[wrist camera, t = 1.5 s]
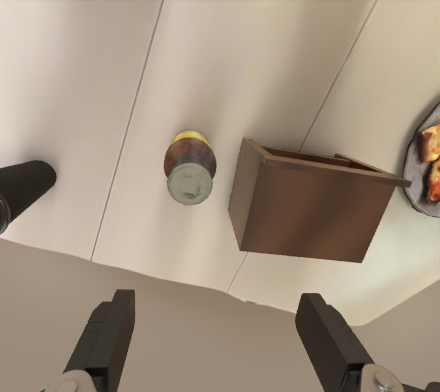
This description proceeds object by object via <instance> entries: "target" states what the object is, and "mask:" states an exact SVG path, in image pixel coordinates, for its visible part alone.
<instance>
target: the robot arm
mask: <svg viewBox="0 0 440 392" xmlns="http://www.w3.org/2000/svg"><path fill="white" fill-rule="evenodd" d="M134 323H135V291H134V290H123V289H117V290H116V292H115V295H114V297H113V300H112V302H102V303H101V304H100V305H99V306H98V307H97V308H96V309H95V310H94V311H93V312H92V314H91V316H90V318H89V321H88V324H87V325H86V327H85V329H84V332H83V333H82V335H81V337H80V339H79V341H78V343H77V345H76V348H75V350H74V352H73V354H72V356H71V358H70V360H69V362H68V364H67V366H66V368H65V370H64V372H63V373H62V375H60V376H58V377H57V378H56V379H54V380H53V381H52V382H51V383H50V384H49V385H48V387H47V388H46V389H45V390H43V391H41V392H117V389H118V386H119V382H120V378H121V374H122V371H123V367H124V363H125V359H126V356H127V352H128V348H129V344H130V341H131V337H132V333H133V329H134ZM295 323H296V328H297V331H298V334H299V336H300V338H301V340H302V343H303V345H304V347H305V349H306V351H307V354H308V356H309V358H310V360H311V362H312V365H313V367H314V369H315V371H316V374H317V376H318V378H319V380H320V383H321V385H322V387H323V389H324V391H325V392H440V383H439V382H431V383H429V384H428V385H427V387H426V389H425V390H422V389H418V388H415V387H412V386H409V385H405V384H402V383H401V382H400V381H399V380H398V379H397V377H396V376H394V374H392V373H391V372H390V371H388V370H387V369H386V368H384V367H382V366H379V365H377V364H375V363H374V361H373V360H372V358H371V357H370V356H369V354H368V353H367V351H366V350H365V348H364V347H363V345H362V344H361V343H360V341H359V340H358V338H357V337H356V335H355V334H354V333H353V332H352V330H351V328H350V327H349V325H347V322H346V321H345V319H344V318H343V317H342V315H341V314H340V313H339V312H338V311H337V310H336V309H335V308H334V307H332V306H331V305H327V304H326V302H325V301H324V299H323V298H322V296H321V295H320V294H318V293H303V294H302V295H301V299H300V302H299V306H298V310H297V314H296V318H295Z"/></svg>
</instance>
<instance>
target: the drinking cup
mask: <svg viewBox="0 0 440 392" xmlns="http://www.w3.org/2000/svg"><path fill="white" fill-rule="evenodd" d="M55 182H56V173H55V171H54V169H53V168H52V167H51V166H50V165H49V164H47V163H45V162H43V161H38V160H35V161H30V162H26V163H21V164H17V165H13V166H8V167H4V168H0V234H2V233H3V232H4V231H5V230H6V229H7V227H8V225H9V224H10V223H11V222H12V221H13V220H14V219H15V218H17V217H18V216H19V215H20V214H21V213H22V212H24V211H25V210H26V209H27V208H28V207H29V206H31V205H32V204H33V203H34V202H35V201H36V200H37V199H39V198H40V197H41V196H42V195H43V194H44V193H46V192H47V191H48V190H49V189H50V188H51V187H52V186H54V184H55Z"/></svg>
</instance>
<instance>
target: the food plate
mask: <svg viewBox="0 0 440 392" xmlns="http://www.w3.org/2000/svg"><path fill="white" fill-rule="evenodd" d="M402 178H404V179H406V180H409V181H411V182H412V184H411V187H410V188H406V187H403V191H404V193H405V195H406V197H407V198H408V199H409V200H410V202H411V204H412V207H413V208H414V209H415V210H416V211H418V212H423V213H424V214H426V215H428V216H432V217H439V218H440V102H439V103H438V104H437V105H436V106H435V107H434V109H433V110H432V112H430V114H429V115H428V116H427V117H426V118H425V120H424V121H423V122H422V124H420V125H419V127H418V128H417V130H416V131H415V134H414V136H413V139H412V140H411V141H410V143H409V145H408V147H407V152H406V157H405V161H404V168H403V175H402Z"/></svg>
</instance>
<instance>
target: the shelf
mask: <svg viewBox="0 0 440 392" xmlns="http://www.w3.org/2000/svg"><path fill="white" fill-rule="evenodd" d="M411 184H412V182H411V181H409V180H406V179H404V178H401V177H399V176H396V175H393V174H391V173H388V172H386V171H383V170H381V169H378V168H376V167H373V166H370V165H368V164H365V163H363V162H360V161H358V160H355V159H352V158H350V157H347V156H345V155H341V154H335V157H334V158H332V157H326V156H320V155H314V154H308V153H302V152H296V151H290V150H284V149H278V148H272V147H266V146H260V145H258V144H257V143H256V142H254V141H253V140H252V139H247V138H243V139H242V144H241V149H240V154H239V159H238V164H237V169H236V173H235V178H234V183H233V188H232V193H231V198H230V203H229V208H228V212H229V215H230V219H231V222H232V226H233V229H234V233H235V236H236V239H237V243H238V246H239V250H240V251H247V252H257V253H267V254H277V255H287V256H296V257H306V258H316V259H326V260H336V261H346V262H355V263H362V261H363V259H364V257H365V254H366V252H367V250H368V248H369V245H370V243H371V241H372V239H373V236H374V234H375V232H376V230H377V227H378V225H379V223H380V221H381V218H382V216H383V214H384V212H385V209H386V207H387V205H388V203H389V200H390V198H391V196H392V194H393V192H394V189H395V187H396V186H399V187H406V188H410V187H411Z"/></svg>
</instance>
